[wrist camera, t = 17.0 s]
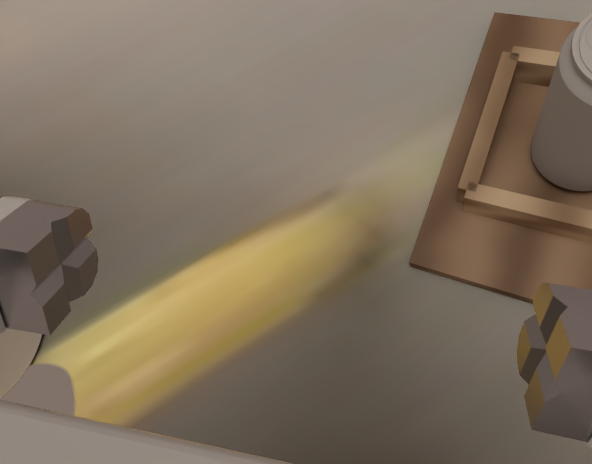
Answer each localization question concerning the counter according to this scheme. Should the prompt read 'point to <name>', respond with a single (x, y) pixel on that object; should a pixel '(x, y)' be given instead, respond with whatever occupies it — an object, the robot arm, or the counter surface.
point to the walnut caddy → (506, 177)
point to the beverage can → (568, 116)
